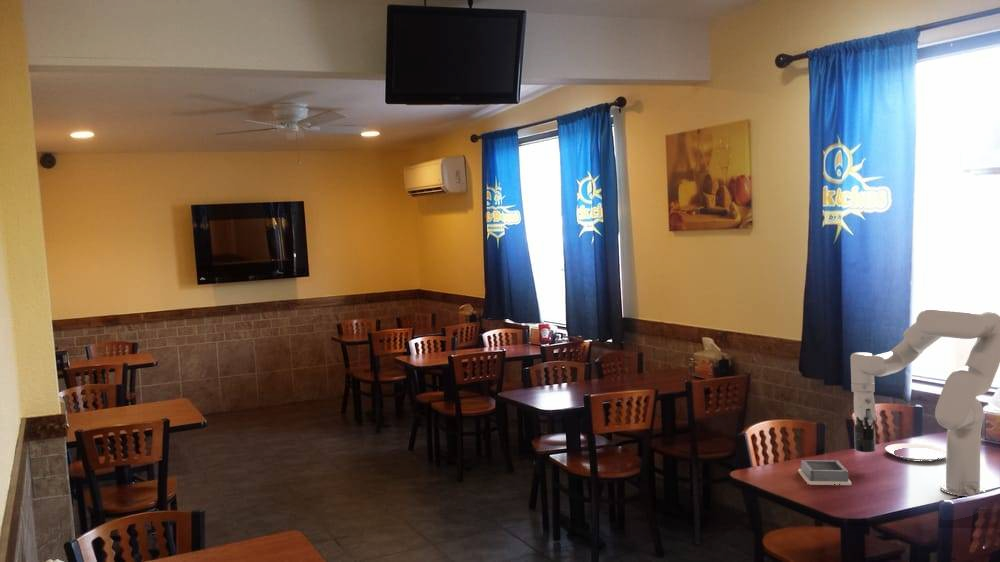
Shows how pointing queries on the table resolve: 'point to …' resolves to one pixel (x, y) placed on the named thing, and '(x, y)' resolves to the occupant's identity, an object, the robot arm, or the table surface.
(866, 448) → the supplement bottle
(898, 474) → the table surface
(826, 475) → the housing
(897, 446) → the plate
